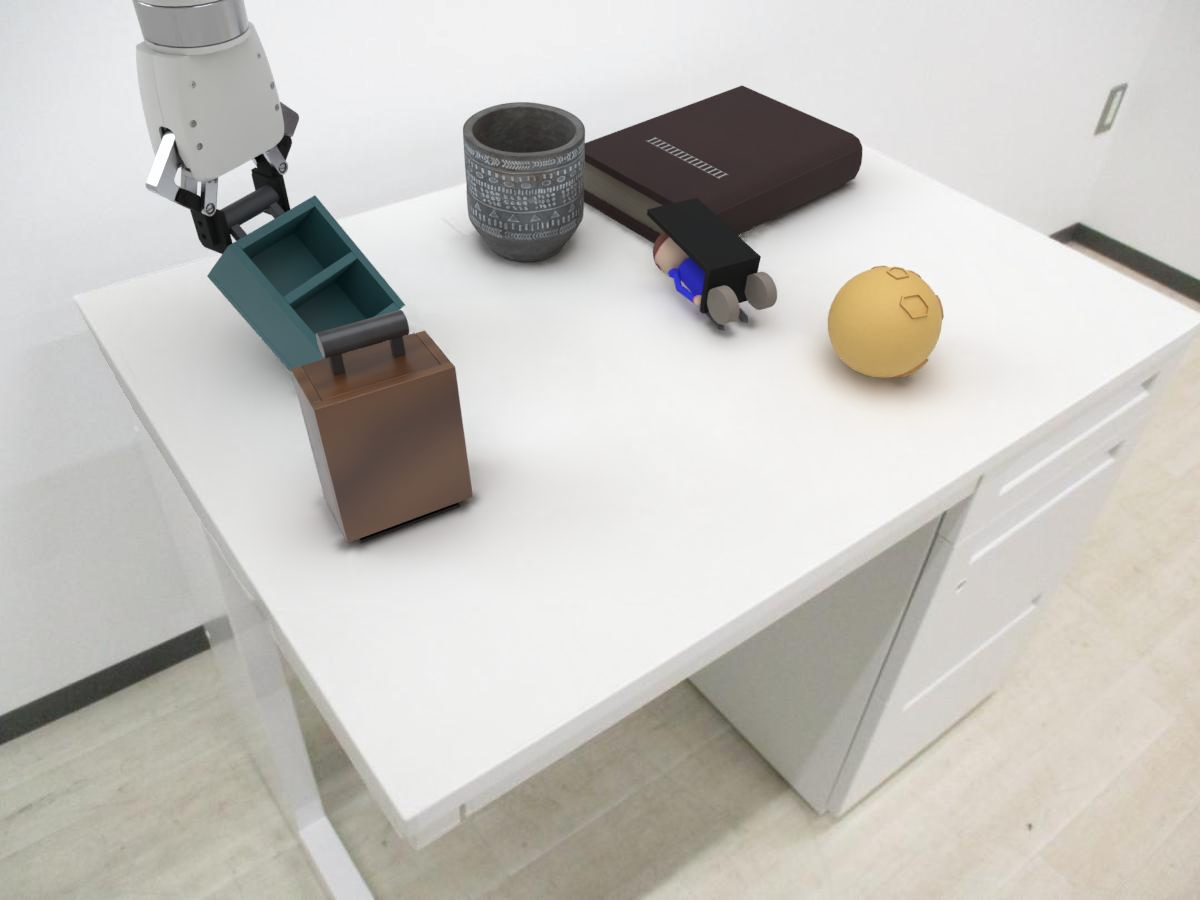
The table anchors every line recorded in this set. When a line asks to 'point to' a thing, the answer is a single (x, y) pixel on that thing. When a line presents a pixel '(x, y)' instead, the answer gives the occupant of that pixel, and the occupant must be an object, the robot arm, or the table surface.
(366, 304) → the teal shelf
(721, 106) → the book
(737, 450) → the table surface
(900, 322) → the stress ball
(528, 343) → the table surface
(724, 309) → the figurine character
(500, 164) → the planter
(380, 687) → the table surface
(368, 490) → the walnut shelf
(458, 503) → the charcoal rectangular slab
